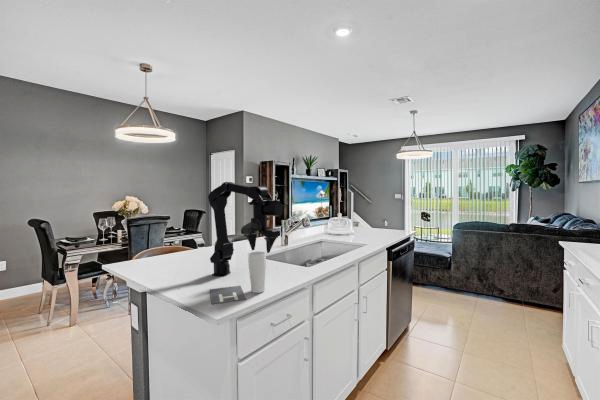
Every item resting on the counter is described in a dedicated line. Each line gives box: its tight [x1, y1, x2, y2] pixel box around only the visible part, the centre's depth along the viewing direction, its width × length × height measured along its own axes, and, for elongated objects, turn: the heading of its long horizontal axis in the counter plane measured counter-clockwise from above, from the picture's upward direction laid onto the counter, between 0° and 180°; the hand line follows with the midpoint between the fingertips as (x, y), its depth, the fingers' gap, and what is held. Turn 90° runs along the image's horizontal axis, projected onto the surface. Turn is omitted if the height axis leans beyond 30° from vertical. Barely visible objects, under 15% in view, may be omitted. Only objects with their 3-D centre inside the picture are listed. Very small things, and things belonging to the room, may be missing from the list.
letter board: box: [209, 285, 247, 305], centre depth 112 cm, size 16×12×1 cm
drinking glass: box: [247, 251, 267, 294], centre depth 115 cm, size 7×7×15 cm
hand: (260, 251), depth 127 cm, fingers open, 9 cm apart
